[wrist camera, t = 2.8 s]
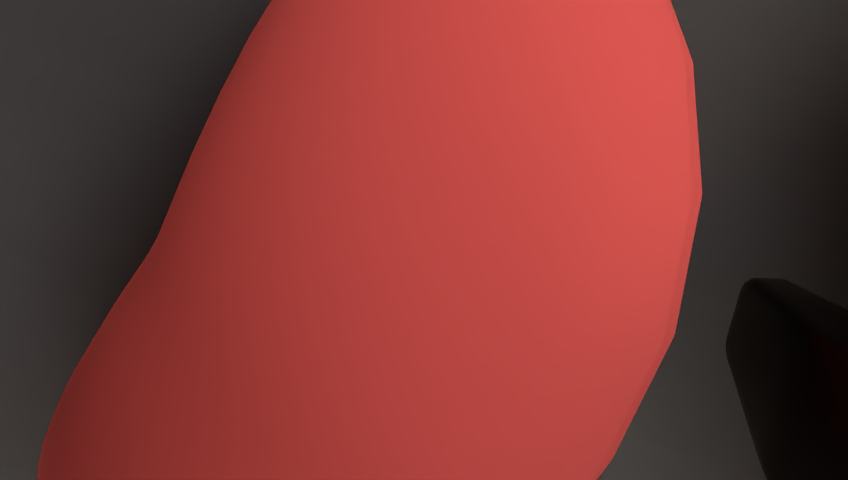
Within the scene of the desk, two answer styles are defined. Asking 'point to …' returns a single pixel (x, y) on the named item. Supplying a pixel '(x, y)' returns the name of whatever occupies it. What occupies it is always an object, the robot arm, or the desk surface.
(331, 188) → the red bean shape
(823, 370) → the robot arm
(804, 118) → the desk surface
